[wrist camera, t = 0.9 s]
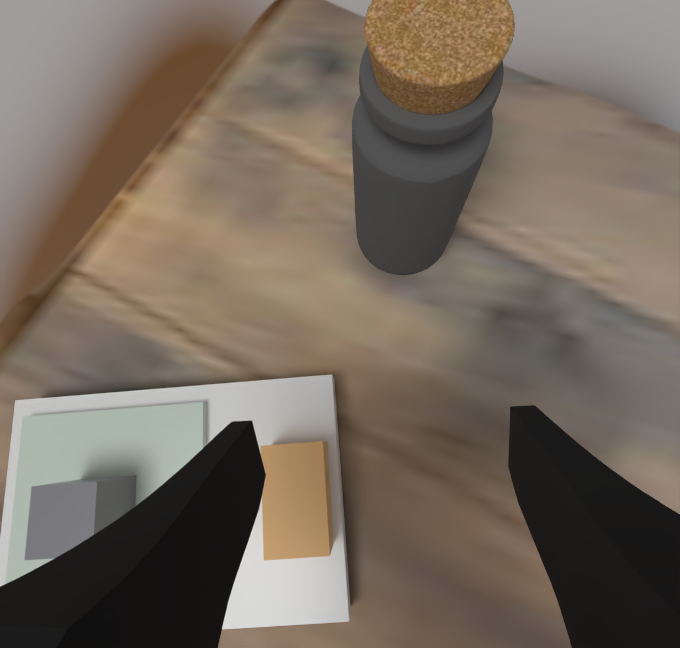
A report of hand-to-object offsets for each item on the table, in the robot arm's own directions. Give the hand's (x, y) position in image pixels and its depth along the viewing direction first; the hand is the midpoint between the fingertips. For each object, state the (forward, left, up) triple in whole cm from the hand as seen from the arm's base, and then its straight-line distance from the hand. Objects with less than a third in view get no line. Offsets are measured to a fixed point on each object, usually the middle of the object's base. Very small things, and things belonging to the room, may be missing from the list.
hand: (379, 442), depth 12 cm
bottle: (+13, -3, -14) cm, 19 cm away
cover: (-2, +14, -11) cm, 18 cm away
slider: (-2, +4, -11) cm, 12 cm away
